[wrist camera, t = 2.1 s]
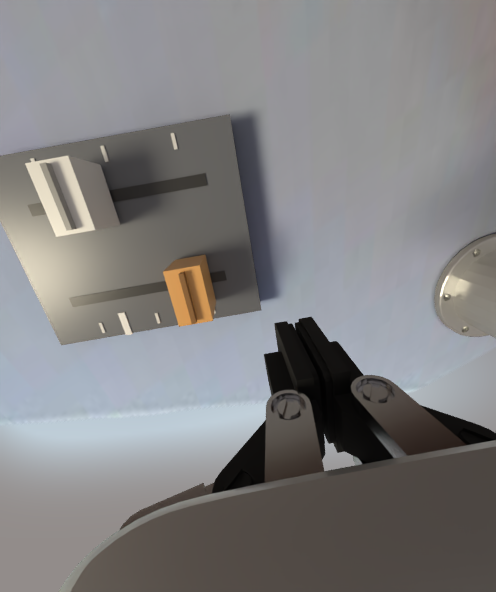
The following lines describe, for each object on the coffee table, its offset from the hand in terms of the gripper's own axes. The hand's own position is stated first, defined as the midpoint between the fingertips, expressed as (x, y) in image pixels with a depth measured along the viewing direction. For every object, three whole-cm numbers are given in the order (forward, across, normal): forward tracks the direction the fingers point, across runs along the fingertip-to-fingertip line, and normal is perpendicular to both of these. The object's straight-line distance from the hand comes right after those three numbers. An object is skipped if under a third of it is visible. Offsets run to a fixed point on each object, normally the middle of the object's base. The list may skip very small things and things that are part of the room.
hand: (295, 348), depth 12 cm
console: (+18, +11, -4) cm, 22 cm away
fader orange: (+15, +6, 0) cm, 16 cm away
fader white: (+15, +13, -9) cm, 22 cm away
